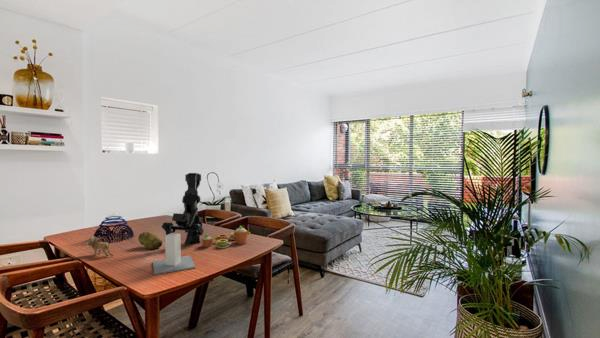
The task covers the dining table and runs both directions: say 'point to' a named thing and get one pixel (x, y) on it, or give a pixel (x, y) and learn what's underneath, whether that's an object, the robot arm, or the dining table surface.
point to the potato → (150, 240)
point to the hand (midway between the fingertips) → (175, 245)
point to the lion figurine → (99, 246)
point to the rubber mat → (163, 268)
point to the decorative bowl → (99, 234)
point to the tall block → (173, 248)
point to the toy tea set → (237, 235)
